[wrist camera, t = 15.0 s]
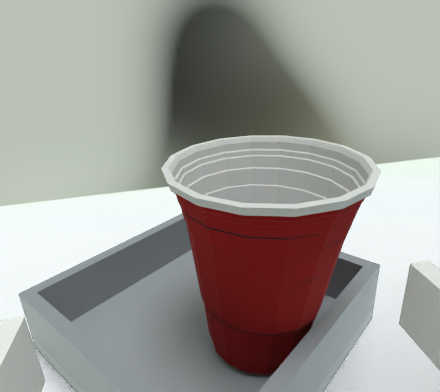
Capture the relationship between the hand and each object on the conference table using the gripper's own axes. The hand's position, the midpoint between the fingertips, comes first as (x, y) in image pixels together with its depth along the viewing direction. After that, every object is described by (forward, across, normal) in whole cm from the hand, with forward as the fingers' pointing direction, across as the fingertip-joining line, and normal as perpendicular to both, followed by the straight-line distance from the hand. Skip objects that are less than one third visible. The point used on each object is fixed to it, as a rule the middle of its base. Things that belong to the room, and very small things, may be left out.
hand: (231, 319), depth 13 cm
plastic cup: (+7, +3, -9) cm, 12 cm away
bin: (+10, 0, -10) cm, 14 cm away
